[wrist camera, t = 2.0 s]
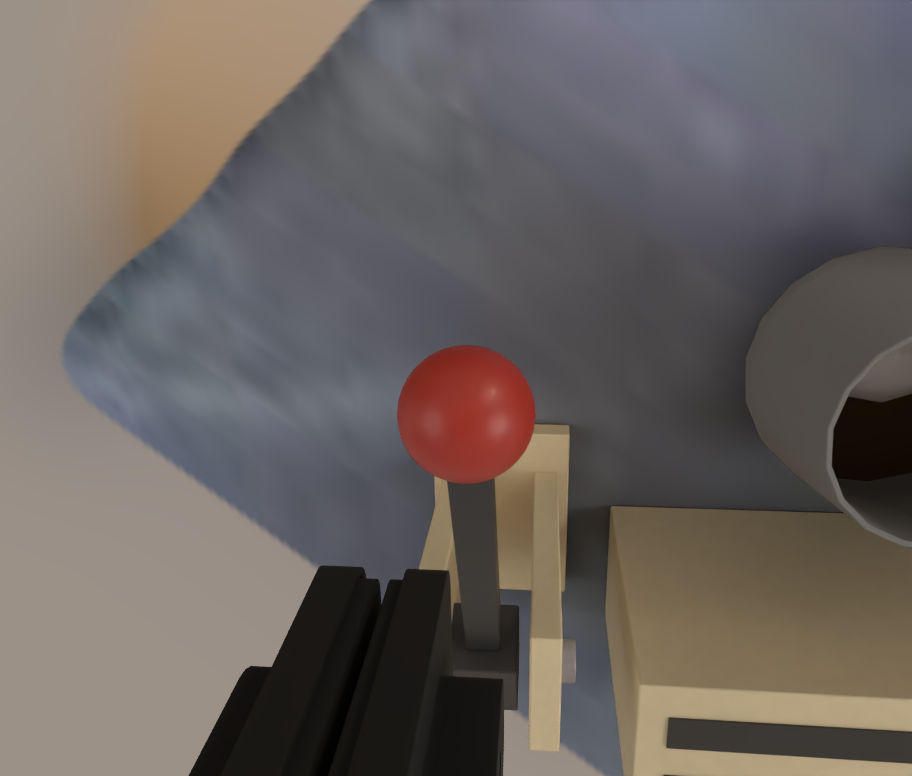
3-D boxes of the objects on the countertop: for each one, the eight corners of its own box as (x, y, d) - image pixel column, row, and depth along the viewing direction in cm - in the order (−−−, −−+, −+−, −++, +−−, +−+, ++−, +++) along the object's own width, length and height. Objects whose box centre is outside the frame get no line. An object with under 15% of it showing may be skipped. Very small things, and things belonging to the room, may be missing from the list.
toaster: (610, 505, 37) (639, 687, 25) (884, 513, 35) (1043, 709, 24) (604, 614, 39) (629, 828, 27) (863, 626, 37) (1001, 855, 26)
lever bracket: (436, 421, 36) (382, 582, 24) (569, 424, 35) (581, 590, 23) (440, 572, 39) (394, 784, 27) (564, 577, 38) (573, 796, 26)
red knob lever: (399, 316, 19) (378, 416, 16) (537, 317, 18) (534, 419, 16) (446, 630, 29) (437, 718, 27) (533, 635, 29) (531, 723, 27)
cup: (725, 240, 32) (798, 298, 23) (974, 218, 31) (1161, 270, 21) (724, 454, 35) (789, 582, 26) (950, 441, 34) (1105, 572, 25)
